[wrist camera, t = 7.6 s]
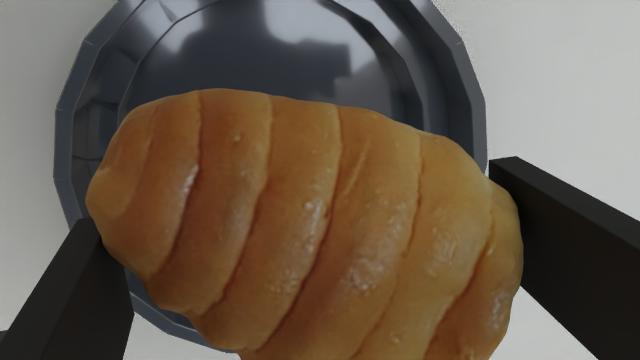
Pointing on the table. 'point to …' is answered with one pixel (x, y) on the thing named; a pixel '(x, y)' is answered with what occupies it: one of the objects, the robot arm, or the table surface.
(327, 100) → the bowl
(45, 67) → the table surface
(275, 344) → the pastry
